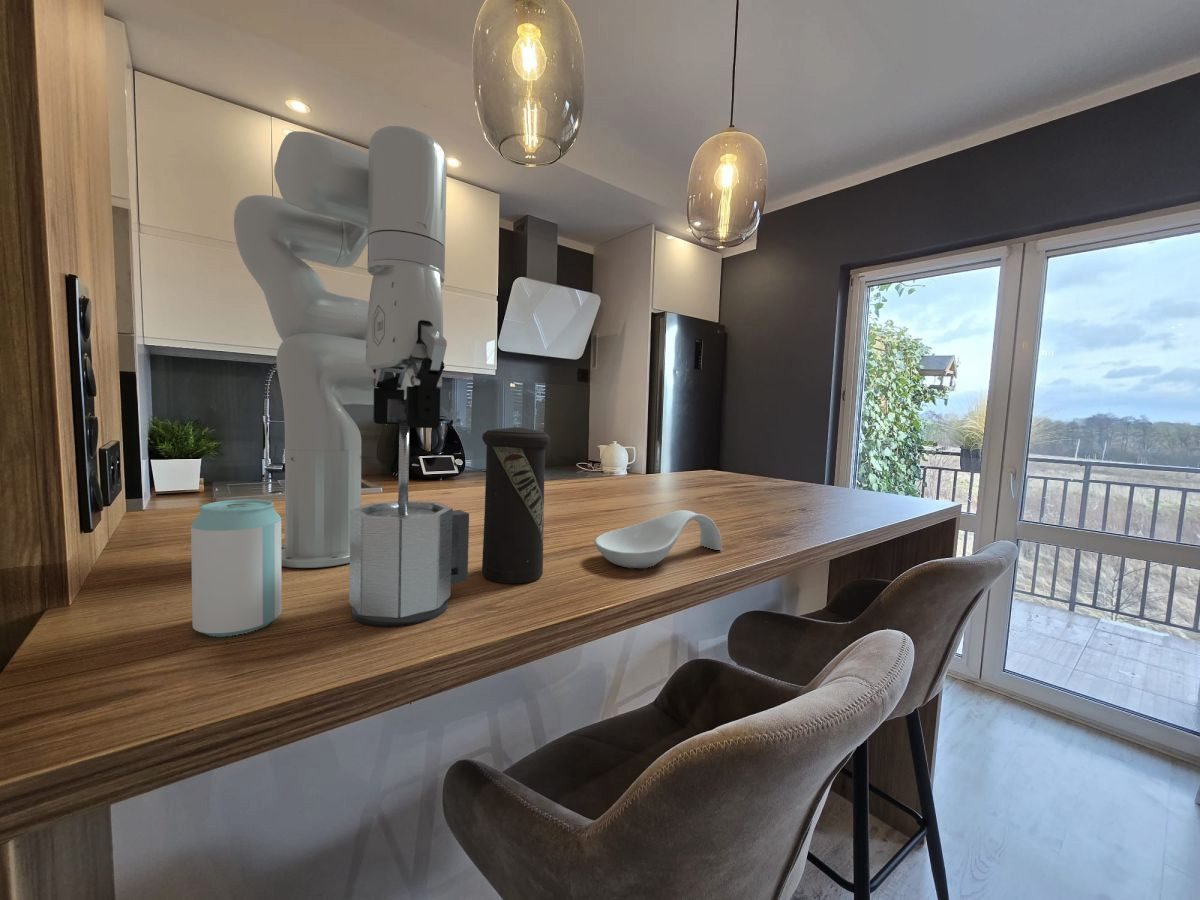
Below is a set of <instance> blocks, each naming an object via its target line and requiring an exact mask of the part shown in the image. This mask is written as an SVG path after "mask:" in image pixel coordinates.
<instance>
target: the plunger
mask: <svg viewBox="0 0 1200 900" xmlns="http://www.w3.org/2000/svg"><path fill="white" fill-rule="evenodd" d="M387 422H396V423H399V424H398V425H399V428H398V429H399V431H398V435H399V436H398V441H399V442H398V445H399V447H398V484H397V485H398V493H397V494H398V495H397V496H398V497H397V498H398V499H397V501H398V509H389V510H382V511H377V512H373V513H371V514H369V516H385V517H410V516H419V515H429V514H434V513H435V512H433V511H430V510H425V509H411V508H408V501H409V475H410V474H409V470H410V469H409V467H410V464H409V463H410V427H408V426H407V425H406V399H405V400H401V399H388V404H387Z"/></svg>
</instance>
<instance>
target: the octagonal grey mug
mask: <svg viewBox="0 0 1200 900" xmlns="http://www.w3.org/2000/svg"><path fill="white" fill-rule="evenodd" d="M408 508H411V509H425V510H430V511H433V512H435V513H434V514H429V515H419V516H410V517H385V516H369V514H371V513H373V512H377V511H382V510H389V509H398V500H395V501H383V502H374V503H373V502H371V503H367V504H365V505H361V507H358V508H355V509H352V510H350V563H349V598H348V599H349V604H350V606H351V617H352V618H353V620H354V621H356V622H357V623H359V624H363V625H366V626H372V627H378V628H380V627H381V628H394V627H395V628H396V627H398V628H399V627H405V626H411V625H417V624H421V623H425V622H427V621H430V620H432V619H434V618H437V617H438V616H440V615H442V614H444V613H445V612H446V611H447V609H448V607H449V598H450V597H451V589H452V588H451V587H452V585H453V584H458V583H462V582H467V581H468V580H469V579H468V577H469V576H468V571H469V570H468V569H469V538H470V537H469V536H470V534H469V533H470V528H469V527H470V513H469V512H466V511H464V510H461V509H458V510H457V509H456V510H453V509H454V508H453V507H451V506H448V505H446V504H443V503H441V502H436V501H419V500H408Z"/></svg>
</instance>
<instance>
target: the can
mask: <svg viewBox="0 0 1200 900" xmlns="http://www.w3.org/2000/svg"><path fill="white" fill-rule="evenodd" d="M199 510H200V511H199V514H197V516H196V518H194V520H193V521H192V523H191V524H190V535H191V536H190V537H191V539H190V540H191V542H190V545H191V548H190V549H191V551H190V552H191V600H192V602H191V605H192V606H191V609H192V610H191V611H192V613H191V615H192V617H191V619H192V620H191V623H192V629H193V630H195V631H197V632H199V633H202V634H204V635H207V636H208V637H214V638H215V636H216V638H225V637H226V636H228V637H235V636H234V635H236V636H239V635H238V634H242V635H244V634H243V633H246V632H250V633H252V632H251V631H253V632H255V631H254V630H256V631H258V629H259V630H261V629H262V628H265V627H266V626H268V625H269V624H271V622H273V621H274V620H276V619H277V618H278V617H279V616H280V615H281V614H282V566H281V546H282V517H281V516H280V514H279V513H278V512H277V510H276V509H275V508H274V502H273V501H271V500H265V499H232V500H221V501H215V502H210V503H209V502H208V503H206V504H202V505H201V506H200V507H199ZM260 628H261V629H260ZM246 634H247V633H246ZM232 635H233V636H232ZM226 638H227V637H226Z"/></svg>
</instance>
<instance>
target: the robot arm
mask: <svg viewBox="0 0 1200 900" xmlns="http://www.w3.org/2000/svg"><path fill="white" fill-rule="evenodd" d="M446 158H447V157H446V154H445V152H444V150H443V148H442V147H441V145H440V143H439V142H438V141H436V140H435V139H434V138H433V137H432V136H431V135H429V134H426V133H425V132H422V131H421V130H419V129H416V128H412V127H407V126H402V125H389V126H388V125H387V126H384V127H381V128H379V129H377V130H376V131H375V132H374V133H373V134H372V135H371V138H370V140H369V144H368V153H367V152H365V151H362V150H360V149H357V148H355V147H352V146H350V145H348V144H345V143H343V142H340V141H337V140H335V139H331V138H329V137H326V136H325V135H321V134H317V133H315V132H309V131H301V130H300V131H298V130H297V131H294V130H293V131H291V132H290V131H289V133H288V134H286V136H285V137H284V138H283V140H282V142H281V144H280V147H279V150H278V152H277V156H276V161H275V163H274V169H273V171H274V179H275V182H276V184H277V186H278V190H279V193H280V195H281V197H282V198H281V197H276V196H272V195H266V194H265V195H264V194H254V195H250V196H246V197H244V198H242V199H241V200H240V201H239V202H238V203H237V205H236V207H235V209H234V214H233V229H234V237H235V241H236V245H237V248H238V251H239V255H240V258H241V260H242V261H243V264H244V265H245V267H246V269H247V270H248V272H249V274H250V275H251V276H252V278H253V279H254V280H255V281H256V283H257V285H258V286H259V287H260V289H261V290H262V292H263V294H264V296H265V300H266V303H267V306H268V309H269V312H270V316H271V320H272V321H273V324H274V327H275V330H276V332H277V333H278V336H279V338H280V339H281V341H282V342H281V343H280V345H279V347H278V349H277V352H276V369H277V376H278V381H279V387H280V391H281V392H280V393H281V399H282V405H283V417H284V544H282V545H281V567H284V568H285V567H286V568H294V569H297V568H298V569H313V568H315V569H316V568H328V567H333V566H341V565H345V564H350V510H352V509H355V508H358V507H361V506H362V436H361V432H360V429H359V427H358V425H357V424H356V421H355V420H353V418H352V417H351V416H350V414H349V412H347V410H346V409H345V408H344V406H343V405H370V406H373V418H372V419H373V422H374V424H376V425H377V424H378V425H399V423H396V422H387V404H388V399H401V400H406V425H407V426H408V427H409V429H410V428H411V429H414V428H417V429H437V428H439V427H440V424H441V423H440V422H441V388H442V386H443V378H442V373H443V371H444V369H445V368H446V366H445V362H444V360H445V359H444V358H445V355H446V350H447V346H448V344H447V342H448V341H447V340H446V338H445V337H444V309H443V291H442V284H443V283H444V282H445V273H446V272H445V270H446V269H445V268H446V267H445V266H446V265H445V264H446V221H447V220H446V219H447V218H446V217H447V213H446V212H447V170H448V168H447V164H448V163H447V159H446ZM366 247H367V272H368V273H369V274H370V275H372V279H371V285H370V291H369V292H370V293H369V299H368V300H365V299H361V298H356V297H355V298H354V297H350V296H349V297H348V296H345V295H340V294H336V293H332V292H329V291H327V289H326V287H325V285H324V282H323V280H322V278H321V277H320V276H319V274H318V273H317V272H316V271H315V270H314V269H313V268H312V267H311V266H310V265H309V264H308V263H306V262H305V261H308V262H314V263H316V264H317V263H318V264H322V265H327V266H331V267H334V268H349V267H352V266H354V264H355V263H356V262H357V261H358V260H359V258H360V257H361V255H362V254H363V252H364V250H365V249H366ZM303 260H305V261H303Z"/></svg>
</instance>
